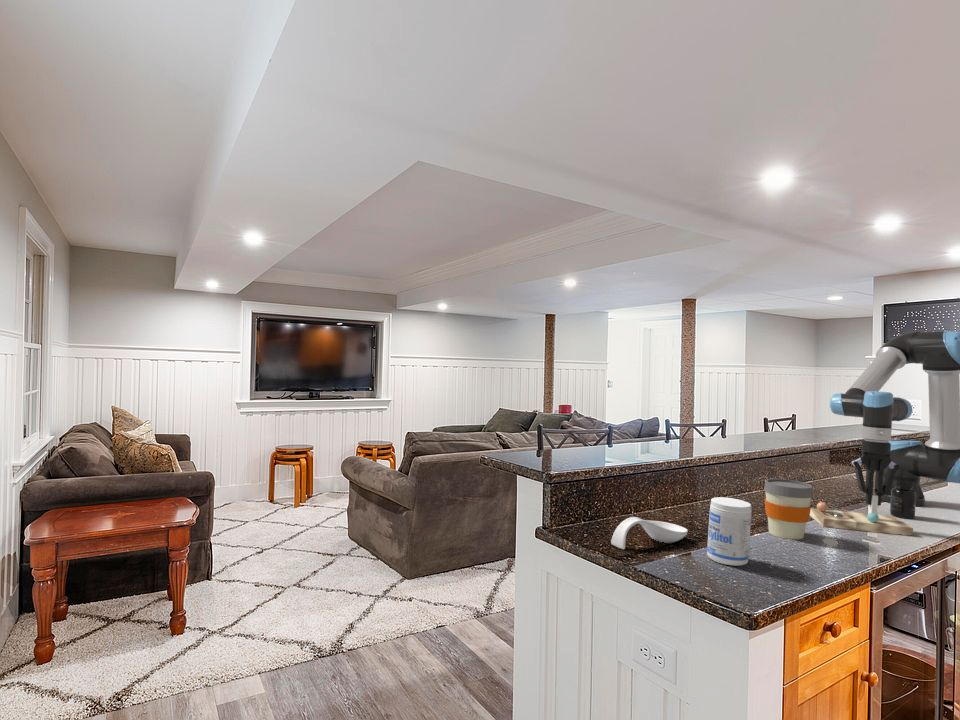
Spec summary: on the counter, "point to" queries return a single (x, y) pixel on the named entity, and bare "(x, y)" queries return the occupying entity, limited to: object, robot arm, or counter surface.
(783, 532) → the reusable coffee cup
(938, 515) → the counter surface
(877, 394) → the robot arm
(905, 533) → the maple board
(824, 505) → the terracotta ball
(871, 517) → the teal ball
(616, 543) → the spoon rest
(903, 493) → the supplement bottle
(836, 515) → the steel ball
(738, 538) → the supplement tub
